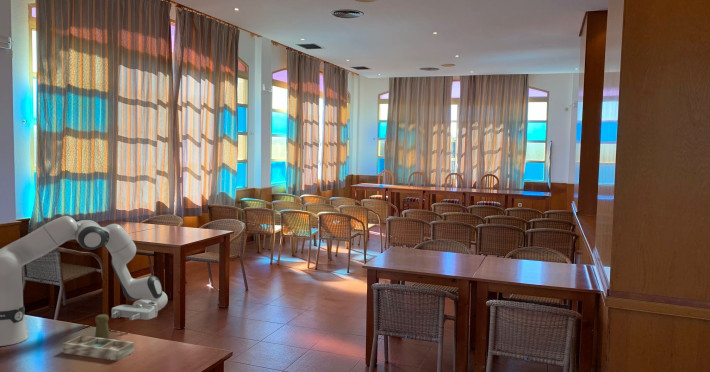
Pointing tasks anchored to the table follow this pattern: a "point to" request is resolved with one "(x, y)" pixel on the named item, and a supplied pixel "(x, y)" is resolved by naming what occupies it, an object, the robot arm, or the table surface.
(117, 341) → the divided tray
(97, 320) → the cork
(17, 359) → the table surface
